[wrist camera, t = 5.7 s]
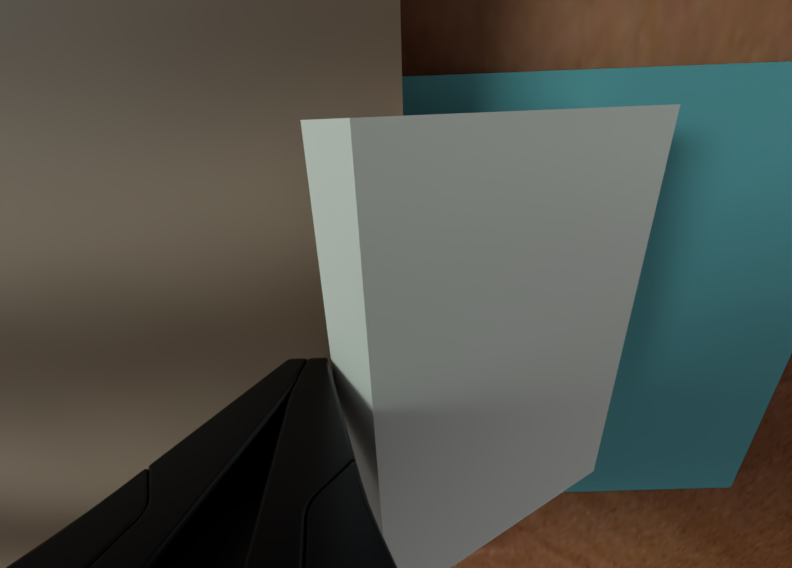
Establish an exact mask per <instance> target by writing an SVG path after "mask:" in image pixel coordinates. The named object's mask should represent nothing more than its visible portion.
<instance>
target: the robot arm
mask: <svg viewBox="0 0 792 568" xmlns="http://www.w3.org/2000/svg"><path fill="white" fill-rule="evenodd" d="M6 568H397V566H396V564H395V561H394V559H393V557H392V555H391V553H390V551H389V548H388V546H387V544H386V542H385V540H384V538H383V536H382V533H381V531H380V528H379V526H378V524H377V521H376V519H375V517H374V514H373V512H372V509H371V507H370V504H369V501H368V498H367V495H366V492H365V489H364V486H363V483H362V480H361V476H360V472H359V469H358V465H357V463H356V459H355V455H354V451H353V448H352V444H351V441H350V437H349V433H348V430H347V426H346V422H345V419H344V415H343V412H342V408H341V404H340V401H339V397H338V394H337V390H336V386H335V383H334V379H333V375H332V372H331V368H330V365H329V361H328V359H327V358H325V357H324V358H310V359H308V360H307V359H306V358H297V359H288V360H286V361H285V362H284V363H282V364H281V365H280V366H279V367H277V368H276V369H275V370H273V371H272V372H271V373H269V374H268V375H267V376H265V377H264V378H263V379H262V380H260V381H259V382H258V383H256V384H255V385H254V386H252V387H251V388H250V389H248V390H247V391H246V392H245V393H243V394H242V395H241V396H239V397H238V398H237V399H235V400H234V401H233V402H231V403H230V404H229V405H228V406H226V407H225V408H224V409H222V410H221V411H220V412H218V413H217V414H216V415H214V416H213V417H212V418H211V419H209V420H208V421H207V422H205V423H204V424H203V425H201V426H200V427H199V428H197V429H196V430H195V431H194V432H192V433H191V434H190V435H188V436H187V437H186V438H184V439H183V440H182V441H180V442H179V443H178V444H177V445H175V446H174V447H173V448H171V449H170V450H169V451H167V452H166V453H165V454H163V455H162V456H161V457H159V458H158V459H157V460H156V461H154V462H153V463H152V464H150V465H149V467H148V469H144V470H142V471H141V472H140V473H138V474H137V475H136V476H134V477H133V478H132V479H131V480H129V481H128V482H127V483H125V484H124V485H123V486H121V487H120V488H119V489H117V490H116V491H115V492H113V493H112V494H110V495H109V496H108V497H106V498H105V499H104V500H102V501H101V502H100V503H98V504H97V505H96V506H94V507H93V508H92V509H90V510H89V511H87V512H86V513H85V514H83V515H82V516H80V517H79V518H77V519H76V520H75V521H73V522H72V523H70V524H69V525H67V526H66V527H64V528H63V529H62V530H60V531H59V532H57V533H56V534H54V535H53V536H52V537H50V538H49V539H47V540H46V541H44V542H43V543H41V544H40V545H38V546H37V547H35V548H34V549H33V550H31V551H30V552H28V553H27V554H25V555H24V556H22V557H21V558H19V559H18V560H16V561H15V562H13V563H12V564H10V565H9V566H7V567H6Z"/></svg>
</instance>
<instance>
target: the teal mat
mask: <svg viewBox="0 0 792 568" xmlns="http://www.w3.org/2000/svg"><path fill="white" fill-rule="evenodd" d="M402 92H403V116H407V115H431V114H455V113H479V112H502V111H526V110H550V109H574V108H598V107H623V106H647V105H671V104H680V109H679V113H678V117H677V121H676V125H675V130H674V134H673V138H672V142H671V147H670V151H669V155H668V159H667V163H666V168H665V172H664V176H663V180H662V185H661V189H660V193H659V197H658V201H657V206H656V210H655V214H654V218H653V223H652V227H651V231H650V235H649V239H648V244H647V248H646V252H645V256H644V261H643V265H642V269H641V273H640V277H639V282H638V286H637V290H636V294H635V298H634V303H633V307H632V311H631V315H630V320H629V324H628V328H627V332H626V336H625V341H624V345H623V349H622V353H621V358H620V362H619V366H618V370H617V374H616V379H615V383H614V387H613V391H612V396H611V400H610V404H609V408H608V412H607V417H606V421H605V425H604V429H603V434H602V438H601V442H600V446H599V450H598V455H597V459H596V463H595V467H594V471H593V472H591V473H590V474H588V475H587V476H586V477H584V478H583V479H581V480H580V481H578V482H577V483H575V484H574V485H572V486H571V487H569V488H568V489H566V490H565V491H563V492H584V491H619V490H654V489H688V488H723V487H731V486H732V484H733V481H734V479H735V477H736V475H737V473H738V470H739V468H740V466H741V464H742V462H743V459H744V457H745V455H746V453H747V451H748V448H749V446H750V444H751V442H752V440H753V437H754V435H755V433H756V431H757V429H758V426H759V424H760V422H761V420H762V418H763V415H764V413H765V411H766V409H767V407H768V404H769V402H770V400H771V398H772V396H773V393H774V391H775V389H776V387H777V385H778V382H779V380H780V378H781V376H782V374H783V371H784V369H785V367H786V365H787V363H788V360H789V358H790V356H791V354H792V62H767V63H741V64H715V65H689V66H663V67H637V68H611V69H585V70H559V71H533V72H507V73H481V74H455V75H429V76H403V77H402Z"/></svg>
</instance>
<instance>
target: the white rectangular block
mask: <svg viewBox="0 0 792 568" xmlns="http://www.w3.org/2000/svg"><path fill="white" fill-rule="evenodd" d="M679 109H680V104H671V105H647V106H623V107H598V108H574V109H550V110H526V111H502V112H479V113H455V114H431V115H407V116H383V117H359V118H335V119H311V120H300V121H301V129H302V137H303V144H304V152H305V160H306V168H307V176H308V184H309V191H310V199H311V207H312V215H313V223H314V231H315V238H316V246H317V254H318V262H319V270H320V278H321V286H322V293H323V301H324V309H325V317H326V325H327V333H328V340H329V348H330V356H331V364H332V372H333V379H334V383H335V386H336V390H337V394H338V397H339V401H340V404H341V408H342V412H343V415H344V419H345V422H346V426H347V430H348V433H349V437H350V441H351V444H352V448H353V451H354V455H355V459H356V463H357V465H358V469H359V472H360V476H361V480H362V483H363V486H364V489H365V492H366V495H367V498H368V501H369V504H370V507H371V509H372V512H373V514H374V517H375V519H376V521H377V524H378V526H379V528H380V531H381V533H382V536H383V538H384V540H385V542H386V544H387V546H388V548H389V551H390V553H391V555H392V557H393V559H394V561H395V564H396V566H397V568H451V567H453V566H454V565H456V564H457V563H459V562H460V561H462V560H463V559H465V558H466V557H467V556H469V555H470V554H472V553H473V552H475V551H476V550H478V549H479V548H481V547H482V546H484V545H485V544H487V543H488V542H490V541H491V540H493V539H494V538H496V537H497V536H498V535H500V534H501V533H503V532H504V531H506V530H507V529H509V528H510V527H512V526H513V525H515V524H516V523H518V522H519V521H521V520H522V519H524V518H525V517H527V516H528V515H529V514H531V513H532V512H534V511H535V510H537V509H538V508H540V507H541V506H543V505H544V504H546V503H547V502H549V501H550V500H552V499H553V498H555V497H556V496H558V495H559V494H560V493H562V492H563V491H565V490H566V489H568V488H569V487H571V486H572V485H574V484H575V483H577V482H578V481H580V480H581V479H583V478H584V477H586V476H587V475H588V474H590V473H591V472H593V471H594V467H595V463H596V459H597V455H598V450H599V446H600V442H601V438H602V434H603V429H604V425H605V421H606V417H607V412H608V408H609V404H610V400H611V396H612V391H613V387H614V383H615V379H616V374H617V370H618V366H619V362H620V358H621V353H622V349H623V345H624V341H625V336H626V332H627V328H628V324H629V320H630V315H631V311H632V307H633V303H634V298H635V294H636V290H637V286H638V282H639V277H640V273H641V269H642V265H643V261H644V256H645V252H646V248H647V244H648V239H649V235H650V231H651V227H652V223H653V218H654V214H655V210H656V206H657V201H658V197H659V193H660V189H661V185H662V180H663V176H664V172H665V168H666V163H667V159H668V155H669V151H670V147H671V142H672V138H673V134H674V130H675V125H676V121H677V117H678V113H679Z"/></svg>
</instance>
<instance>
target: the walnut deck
mask: <svg viewBox="0 0 792 568" xmlns="http://www.w3.org/2000/svg"><path fill="white" fill-rule="evenodd" d="M383 116H403V92H402V52H401V11H400V0H0V568H6V567H7V566H9V565H10V564H12V563H13V562H15V561H16V560H18V559H19V558H21V557H22V556H24V555H25V554H27V553H28V552H30V551H31V550H33V549H34V548H35V547H37V546H38V545H40V544H41V543H43V542H44V541H46V540H47V539H49V538H50V537H52V536H53V535H54V534H56V533H57V532H59V531H60V530H62V529H63V528H64V527H66V526H67V525H69V524H70V523H72V522H73V521H75V520H76V519H77V518H79V517H80V516H82V515H83V514H85V513H86V512H87V511H89V510H90V509H92V508H93V507H94V506H96V505H97V504H98V503H100V502H101V501H102V500H104V499H105V498H106V497H108V496H109V495H110V494H112V493H113V492H115V491H116V490H117V489H119V488H120V487H121V486H123V485H124V484H125V483H127V482H128V481H129V480H131V479H132V478H133V477H134V476H136V475H137V474H138V473H140V472H141V471H142V470H144V469H148V467H149V465H150V464H152V463H153V462H154V461H156V460H157V459H158V458H159V457H161V456H162V455H163V454H165V453H166V452H167V451H169V450H170V449H171V448H173V447H174V446H175V445H177V444H178V443H179V442H180V441H182V440H183V439H184V438H186V437H187V436H188V435H190V434H191V433H192V432H194V431H195V430H196V429H197V428H199V427H200V426H201V425H203V424H204V423H205V422H207V421H208V420H209V419H211V418H212V417H213V416H214V415H216V414H217V413H218V412H220V411H221V410H222V409H224V408H225V407H226V406H228V405H229V404H230V403H231V402H233V401H234V400H235V399H237V398H238V397H239V396H241V395H242V394H243V393H245V392H246V391H247V390H248V389H250V388H251V387H252V386H254V385H255V384H256V383H258V382H259V381H260V380H262V379H263V378H264V377H265V376H267V375H268V374H269V373H271V372H272V371H273V370H275V369H276V368H277V367H279V366H280V365H281V364H282V363H284V362H285V361H286V360H288V359H297V358H306V359H307V360H308V359H310V358H324V357H325V358H327V359H328V361H329V365H330V368H331V372H332V364H331V356H330V348H329V340H328V333H327V325H326V317H325V309H324V301H323V293H322V286H321V278H320V270H319V262H318V254H317V246H316V238H315V231H314V223H313V215H312V207H311V199H310V191H309V184H308V176H307V168H306V160H305V152H304V144H303V137H302V129H301V121H300V120H311V119H335V118H359V117H383ZM332 375H333V372H332Z"/></svg>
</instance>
